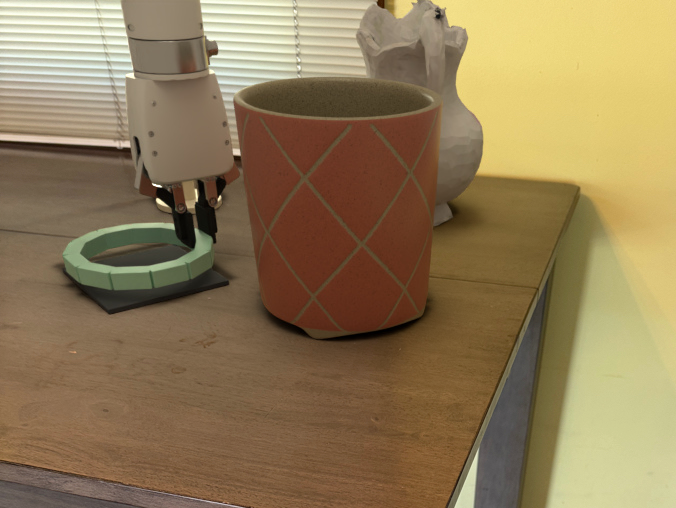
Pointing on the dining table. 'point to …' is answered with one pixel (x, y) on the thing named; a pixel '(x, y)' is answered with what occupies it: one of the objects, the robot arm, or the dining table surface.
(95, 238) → the ring
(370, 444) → the dining table surface
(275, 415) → the dining table surface
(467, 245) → the dining table surface
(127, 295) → the mat
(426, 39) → the ceramic pitcher
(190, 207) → the ring holder
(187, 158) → the robot arm
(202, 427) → the dining table surface
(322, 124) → the planter
